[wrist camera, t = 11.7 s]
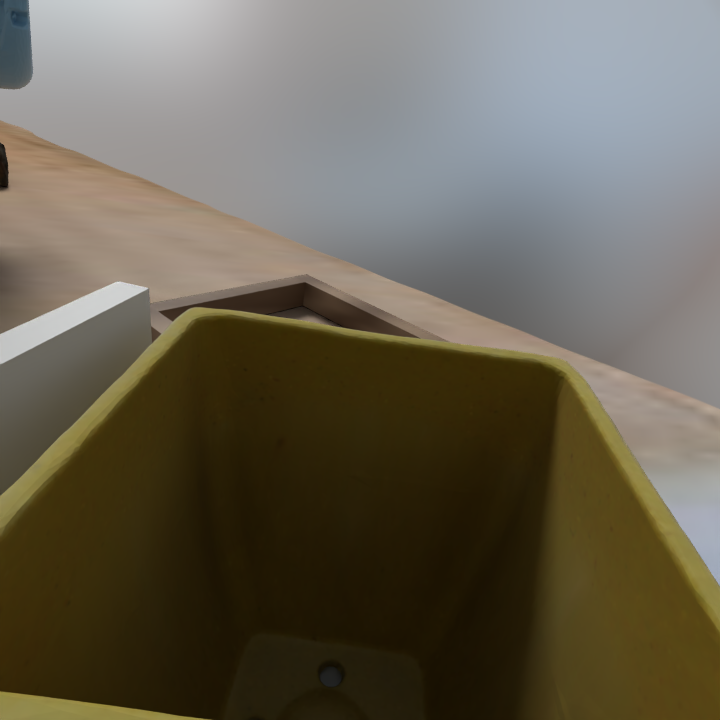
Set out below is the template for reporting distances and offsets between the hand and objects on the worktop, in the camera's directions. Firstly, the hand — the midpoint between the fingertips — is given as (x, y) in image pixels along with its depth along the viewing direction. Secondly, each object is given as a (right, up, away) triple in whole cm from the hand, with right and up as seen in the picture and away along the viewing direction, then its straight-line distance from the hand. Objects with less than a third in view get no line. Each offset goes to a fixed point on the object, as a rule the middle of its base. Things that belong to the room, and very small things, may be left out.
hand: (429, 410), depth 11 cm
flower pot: (-3, -8, +1) cm, 9 cm away
